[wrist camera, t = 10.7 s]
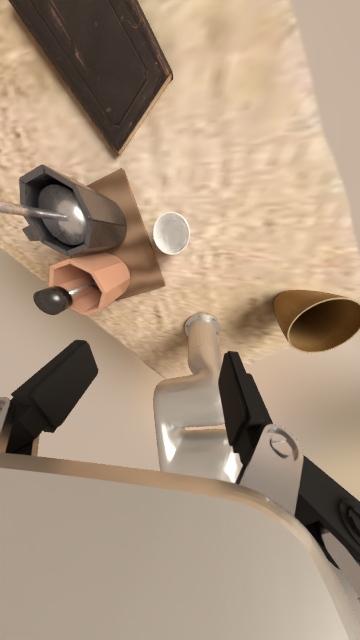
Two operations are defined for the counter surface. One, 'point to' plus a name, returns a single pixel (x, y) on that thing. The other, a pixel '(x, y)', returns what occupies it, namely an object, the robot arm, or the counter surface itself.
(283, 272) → the counter surface
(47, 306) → the black knob metal plunger
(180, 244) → the white cup
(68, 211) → the charcoal plunger
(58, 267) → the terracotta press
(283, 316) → the plant pot
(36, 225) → the dark grey faceted mug
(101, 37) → the hardcover book
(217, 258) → the counter surface
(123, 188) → the walnut board
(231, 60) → the counter surface
